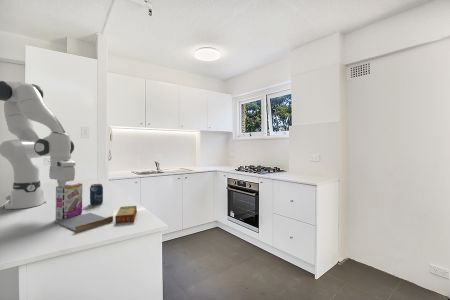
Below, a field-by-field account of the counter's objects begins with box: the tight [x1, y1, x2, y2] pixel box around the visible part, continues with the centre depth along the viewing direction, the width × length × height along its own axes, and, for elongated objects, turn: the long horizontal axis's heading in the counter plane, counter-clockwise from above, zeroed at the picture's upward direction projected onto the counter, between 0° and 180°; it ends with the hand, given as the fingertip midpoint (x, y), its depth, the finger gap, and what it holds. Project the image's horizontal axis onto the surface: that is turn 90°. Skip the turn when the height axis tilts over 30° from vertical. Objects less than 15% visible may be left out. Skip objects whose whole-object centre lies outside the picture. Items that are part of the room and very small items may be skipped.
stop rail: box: [74, 215, 114, 233], centre depth 100 cm, size 1×16×2 cm, turn 149°
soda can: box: [89, 183, 104, 206], centre depth 135 cm, size 7×7×12 cm
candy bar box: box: [55, 182, 83, 221], centre depth 112 cm, size 11×5×16 cm, turn 168°
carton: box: [115, 205, 138, 225], centre depth 112 cm, size 8×16×4 cm, turn 18°
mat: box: [54, 212, 106, 232], centre depth 105 cm, size 19×16×1 cm
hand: (61, 188), depth 116 cm, fingers closed
